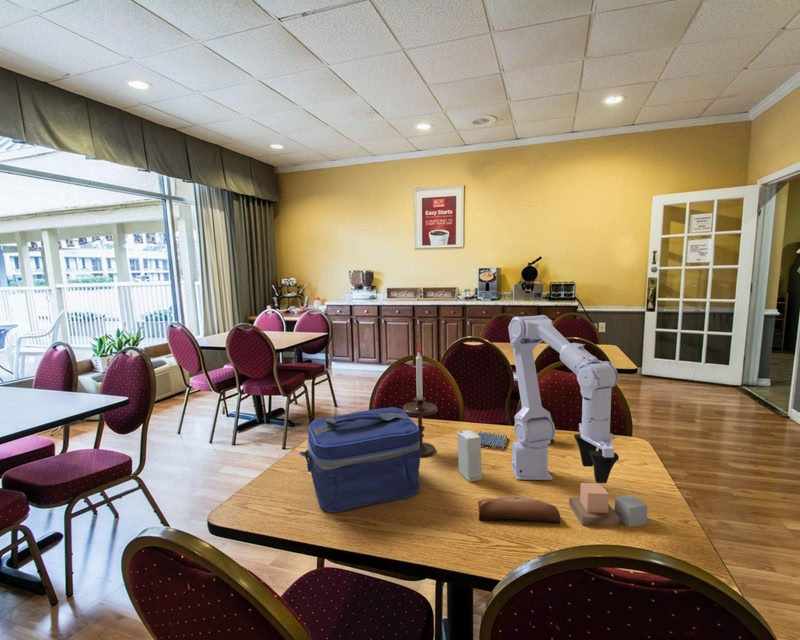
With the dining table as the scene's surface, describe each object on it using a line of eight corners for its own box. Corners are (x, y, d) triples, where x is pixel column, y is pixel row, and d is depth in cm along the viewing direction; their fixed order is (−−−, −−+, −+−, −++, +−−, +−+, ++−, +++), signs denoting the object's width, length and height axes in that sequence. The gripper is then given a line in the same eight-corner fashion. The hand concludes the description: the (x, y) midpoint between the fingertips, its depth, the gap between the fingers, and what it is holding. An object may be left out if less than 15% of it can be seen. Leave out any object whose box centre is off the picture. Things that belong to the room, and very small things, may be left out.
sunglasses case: (550, 503, 99) (554, 487, 95) (557, 532, 93) (562, 517, 89) (475, 500, 100) (476, 485, 96) (477, 529, 95) (479, 514, 91)
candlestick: (442, 447, 132) (441, 340, 128) (429, 461, 123) (427, 346, 119) (412, 441, 137) (410, 339, 133) (397, 454, 128) (395, 344, 124)
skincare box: (482, 479, 111) (482, 436, 109) (468, 482, 109) (467, 439, 108) (471, 469, 117) (471, 428, 115) (457, 472, 115) (456, 431, 114)
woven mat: (471, 448, 132) (471, 442, 132) (478, 436, 142) (478, 430, 142) (503, 452, 128) (503, 446, 128) (508, 440, 138) (508, 434, 138)
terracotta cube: (587, 512, 91) (587, 493, 91) (579, 501, 96) (580, 483, 95) (607, 512, 91) (608, 493, 90) (599, 501, 95) (600, 483, 95)
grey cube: (628, 527, 89) (629, 508, 88) (614, 515, 93) (614, 497, 93) (646, 524, 90) (647, 505, 89) (631, 513, 94) (632, 494, 94)
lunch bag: (307, 522, 93) (303, 436, 91) (296, 480, 113) (293, 408, 111) (430, 494, 104) (429, 416, 102) (400, 460, 124) (399, 394, 122)
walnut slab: (582, 527, 90) (582, 517, 89) (568, 507, 98) (569, 497, 97) (619, 528, 89) (619, 517, 89) (602, 507, 97) (603, 497, 97)
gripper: (630, 428, 83) (627, 490, 85) (601, 405, 98) (599, 459, 99) (594, 428, 84) (592, 490, 86) (570, 405, 98) (569, 459, 100)
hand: (594, 473), depth 92 cm, fingers open, 7 cm apart
